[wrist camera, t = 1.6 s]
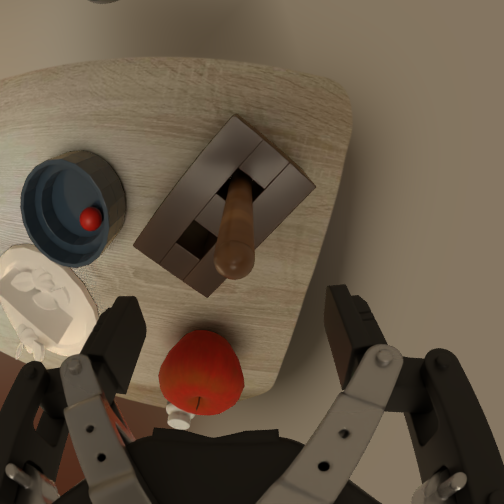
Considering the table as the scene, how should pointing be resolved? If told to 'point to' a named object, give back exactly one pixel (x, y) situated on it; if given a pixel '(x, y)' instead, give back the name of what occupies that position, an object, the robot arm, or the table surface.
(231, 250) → the stick
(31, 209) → the bowl
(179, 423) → the pill bottle
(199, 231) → the stand
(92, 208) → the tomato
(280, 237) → the table surface
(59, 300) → the dish
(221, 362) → the apple
